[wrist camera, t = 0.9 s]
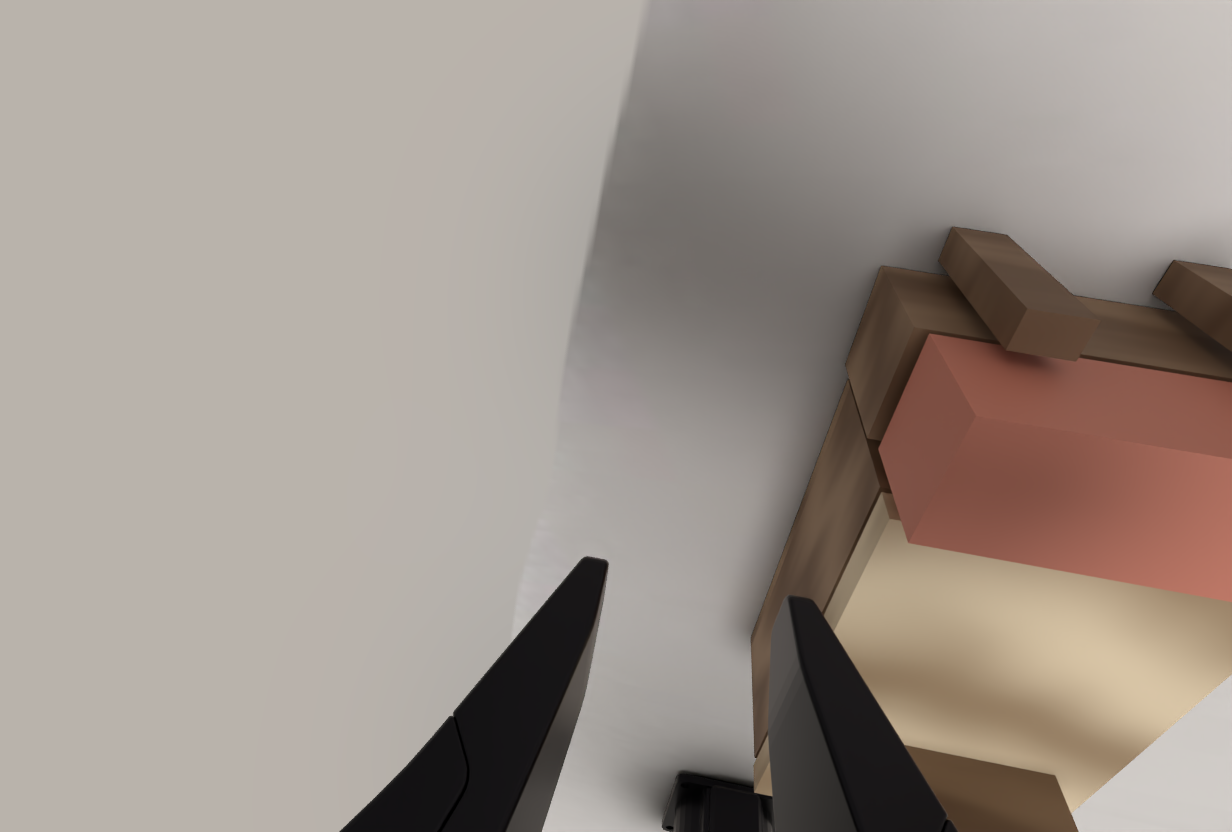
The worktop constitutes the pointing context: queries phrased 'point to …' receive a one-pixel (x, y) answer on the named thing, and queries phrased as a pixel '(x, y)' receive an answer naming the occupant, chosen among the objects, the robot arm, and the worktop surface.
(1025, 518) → the pink rectangular block
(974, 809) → the lid
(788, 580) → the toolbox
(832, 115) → the worktop surface
